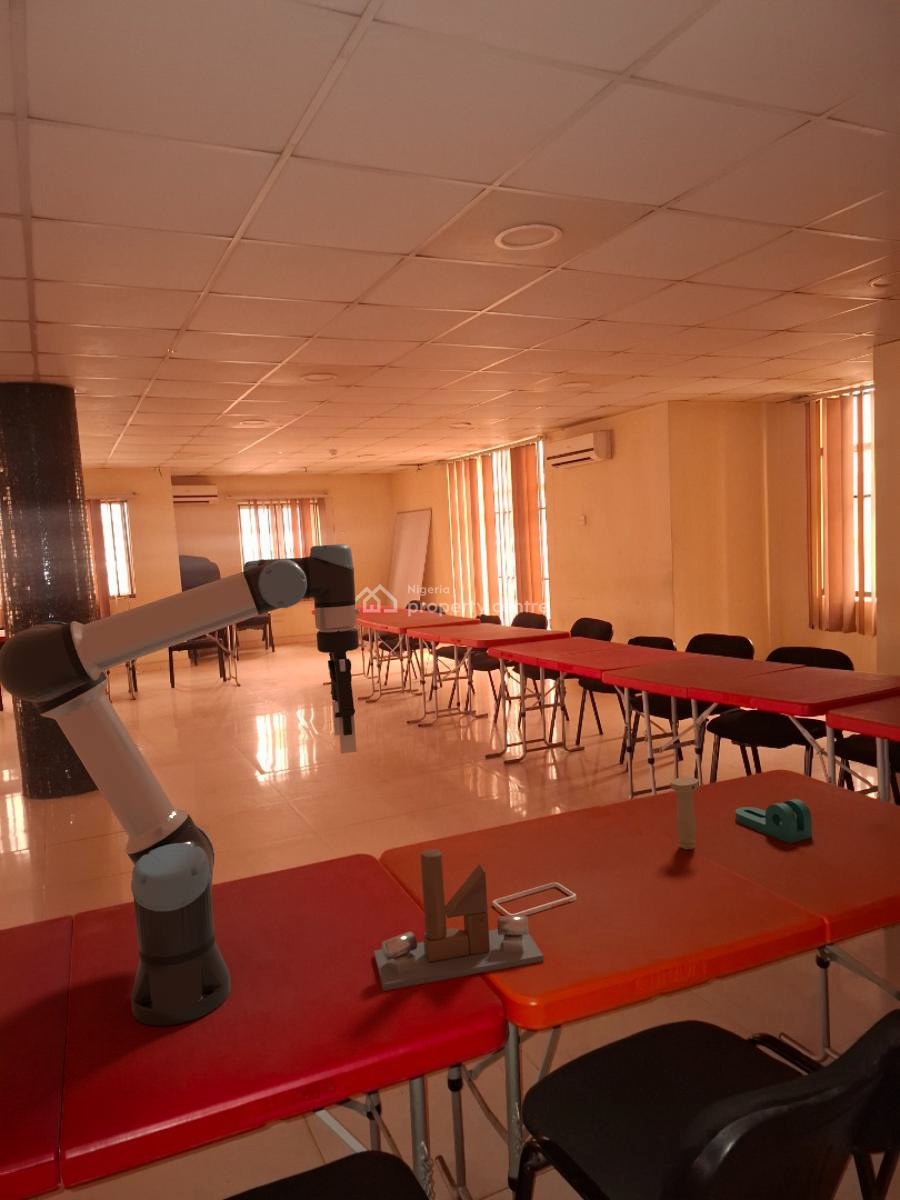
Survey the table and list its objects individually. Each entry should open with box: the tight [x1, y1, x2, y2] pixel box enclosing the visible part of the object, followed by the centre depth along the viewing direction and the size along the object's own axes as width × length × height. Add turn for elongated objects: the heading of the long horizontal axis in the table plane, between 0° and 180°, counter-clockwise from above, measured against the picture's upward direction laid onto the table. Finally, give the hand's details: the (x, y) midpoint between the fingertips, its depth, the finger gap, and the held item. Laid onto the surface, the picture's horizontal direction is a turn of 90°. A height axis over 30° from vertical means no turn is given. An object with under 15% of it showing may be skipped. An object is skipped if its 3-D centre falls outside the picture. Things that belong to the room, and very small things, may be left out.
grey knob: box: [497, 915, 529, 952], centre depth 134 cm, size 5×4×5 cm
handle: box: [670, 776, 700, 851], centre depth 173 cm, size 5×6×15 cm
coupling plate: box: [373, 928, 545, 992], centre depth 133 cm, size 27×11×1 cm, turn 103°
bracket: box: [735, 798, 813, 845], centre depth 181 cm, size 18×7×8 cm, turn 24°
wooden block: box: [420, 849, 490, 962], centre depth 132 cm, size 4×11×18 cm, turn 103°
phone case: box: [492, 882, 577, 916], centre depth 152 cm, size 7×1×15 cm
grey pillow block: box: [381, 930, 418, 975], centre depth 130 cm, size 5×4×5 cm
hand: (345, 743), depth 145 cm, fingers open, 13 cm apart
